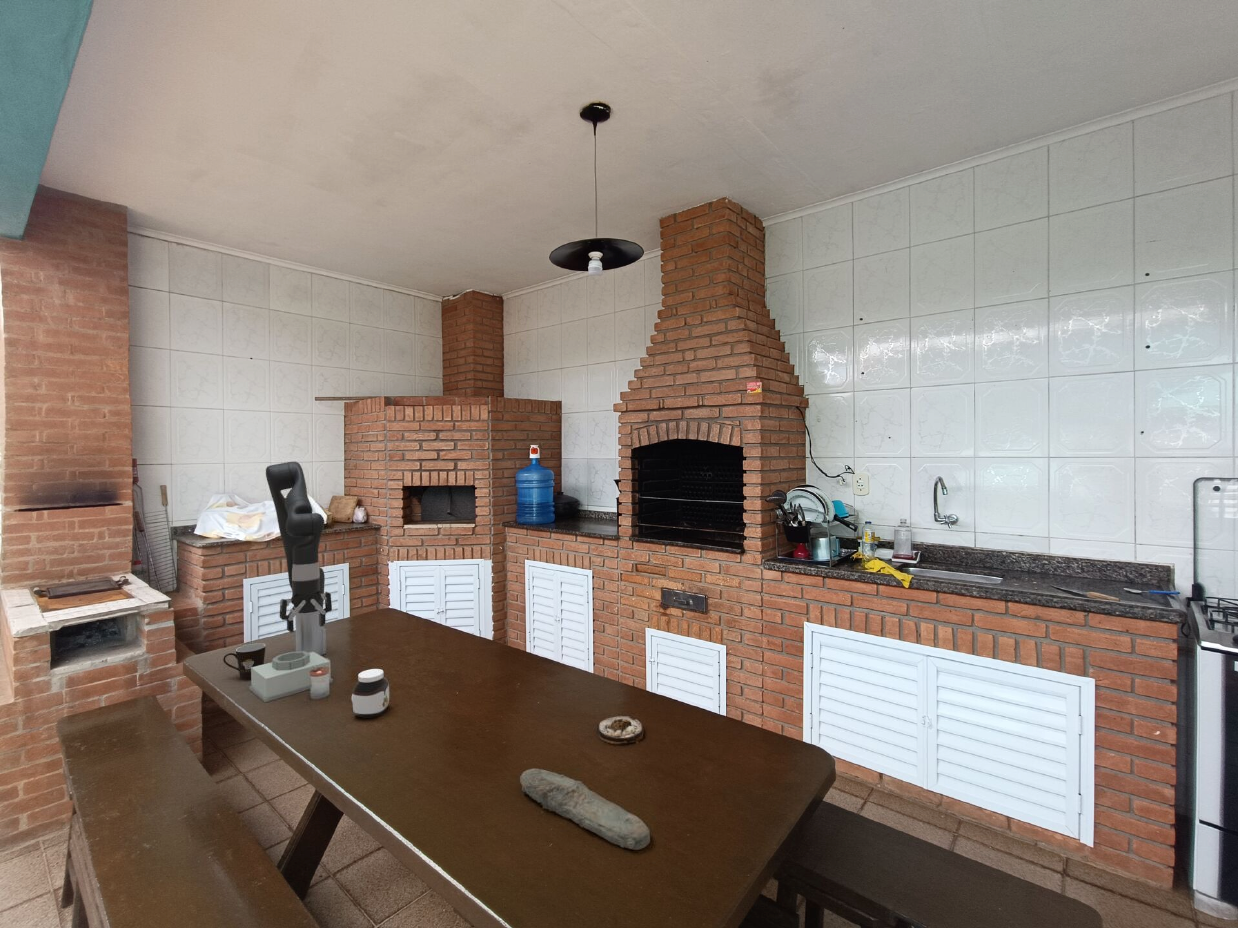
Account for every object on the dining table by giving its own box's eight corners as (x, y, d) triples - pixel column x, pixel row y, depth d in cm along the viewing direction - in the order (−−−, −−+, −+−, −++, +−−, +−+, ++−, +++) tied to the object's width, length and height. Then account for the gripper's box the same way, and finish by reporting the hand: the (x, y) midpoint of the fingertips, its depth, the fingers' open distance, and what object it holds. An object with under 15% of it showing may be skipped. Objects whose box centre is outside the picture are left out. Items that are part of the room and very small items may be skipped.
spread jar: (372, 721, 161) (371, 680, 161) (337, 718, 163) (336, 677, 163) (397, 703, 173) (396, 665, 173) (364, 700, 175) (363, 662, 175)
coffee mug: (272, 672, 198) (271, 643, 198) (253, 682, 189) (253, 652, 189) (241, 670, 199) (240, 642, 199) (221, 680, 191) (221, 651, 190)
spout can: (325, 690, 183) (324, 660, 182) (332, 694, 179) (331, 664, 179) (307, 695, 179) (307, 665, 178) (314, 700, 175) (313, 669, 175)
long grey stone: (630, 870, 105) (660, 844, 113) (632, 842, 105) (662, 818, 113) (506, 790, 127) (539, 773, 135) (508, 767, 127) (540, 751, 135)
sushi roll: (596, 751, 145) (596, 735, 145) (590, 724, 160) (590, 709, 160) (653, 746, 147) (653, 731, 147) (641, 720, 162) (641, 705, 162)
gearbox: (319, 669, 200) (318, 642, 200) (337, 680, 190) (337, 652, 190) (249, 688, 184) (248, 659, 184) (265, 702, 174) (264, 671, 174)
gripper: (326, 572, 186) (327, 621, 186) (276, 579, 176) (277, 631, 176) (334, 575, 180) (334, 626, 180) (283, 582, 170) (284, 636, 170)
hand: (306, 628), depth 178 cm, fingers open, 8 cm apart
